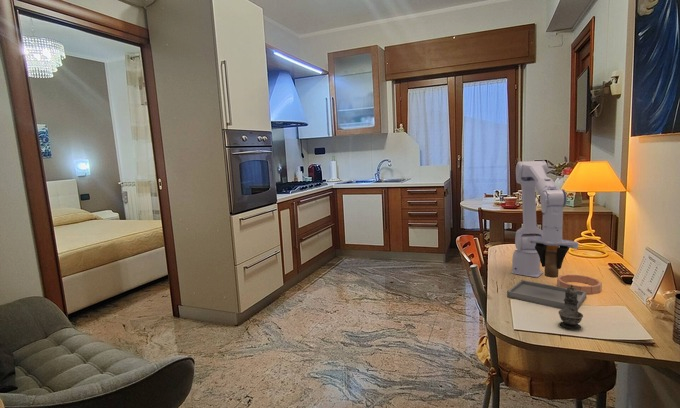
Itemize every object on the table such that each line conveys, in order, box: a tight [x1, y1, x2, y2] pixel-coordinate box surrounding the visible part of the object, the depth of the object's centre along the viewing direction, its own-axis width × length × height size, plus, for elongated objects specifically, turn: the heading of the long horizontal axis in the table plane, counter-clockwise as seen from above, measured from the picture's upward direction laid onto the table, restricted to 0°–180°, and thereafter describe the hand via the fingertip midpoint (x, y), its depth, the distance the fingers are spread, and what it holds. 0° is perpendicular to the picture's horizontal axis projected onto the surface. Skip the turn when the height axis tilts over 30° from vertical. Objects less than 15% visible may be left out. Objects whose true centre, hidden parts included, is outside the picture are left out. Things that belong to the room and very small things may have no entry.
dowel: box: [543, 251, 559, 279], centre depth 125 cm, size 4×4×8 cm
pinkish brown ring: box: [556, 274, 603, 295], centre depth 133 cm, size 13×13×2 cm
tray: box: [506, 279, 587, 311], centre depth 126 cm, size 20×14×2 cm
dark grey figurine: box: [558, 284, 584, 331], centre depth 105 cm, size 6×6×12 cm
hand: (551, 267), depth 125 cm, fingers closed on dowel, 4 cm apart
